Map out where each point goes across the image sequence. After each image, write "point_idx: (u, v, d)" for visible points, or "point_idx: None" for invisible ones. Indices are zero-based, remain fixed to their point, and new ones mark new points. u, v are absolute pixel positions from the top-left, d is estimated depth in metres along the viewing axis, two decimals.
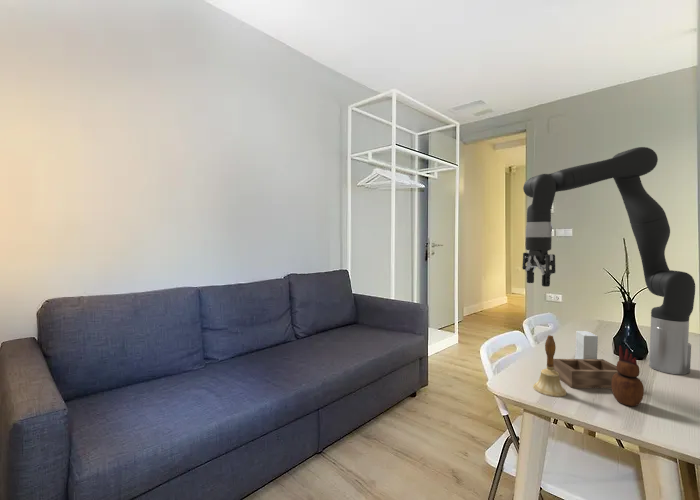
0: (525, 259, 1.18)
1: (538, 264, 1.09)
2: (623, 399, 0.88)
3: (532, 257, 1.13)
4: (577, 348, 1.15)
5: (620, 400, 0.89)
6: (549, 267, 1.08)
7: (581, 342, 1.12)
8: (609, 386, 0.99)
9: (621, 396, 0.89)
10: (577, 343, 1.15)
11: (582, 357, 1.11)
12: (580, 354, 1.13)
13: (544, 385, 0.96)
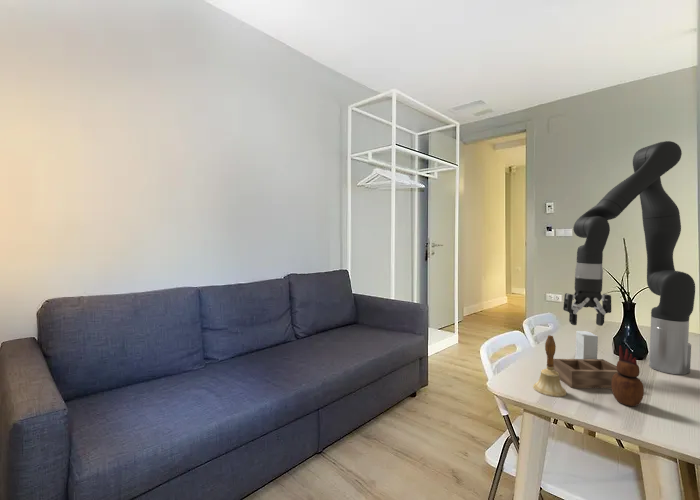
0: None
1: (599, 305, 1.11)
2: (623, 399, 0.88)
3: None
4: (577, 348, 1.15)
5: (620, 400, 0.89)
6: None
7: (581, 342, 1.12)
8: (609, 386, 0.99)
9: (621, 396, 0.89)
10: (577, 343, 1.15)
11: (582, 357, 1.11)
12: (580, 354, 1.13)
13: (544, 385, 0.96)
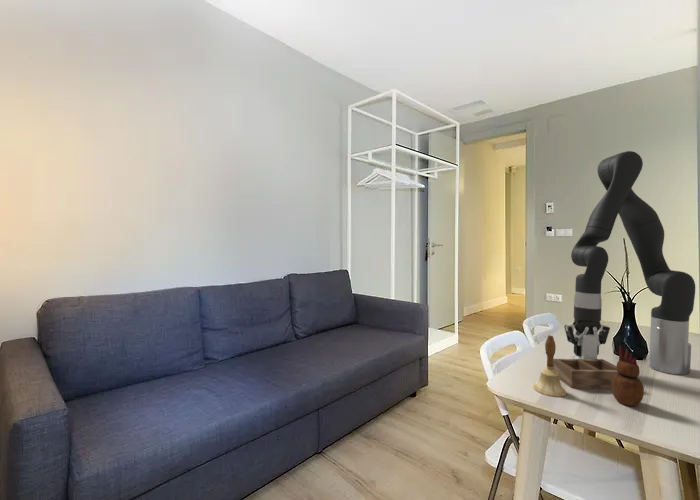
0: None
1: (596, 335, 1.11)
2: (623, 399, 0.88)
3: (587, 327, 1.11)
4: None
5: (620, 400, 0.89)
6: None
7: None
8: (609, 386, 0.99)
9: (621, 396, 0.89)
10: None
11: (582, 357, 1.11)
12: None
13: (544, 385, 0.96)
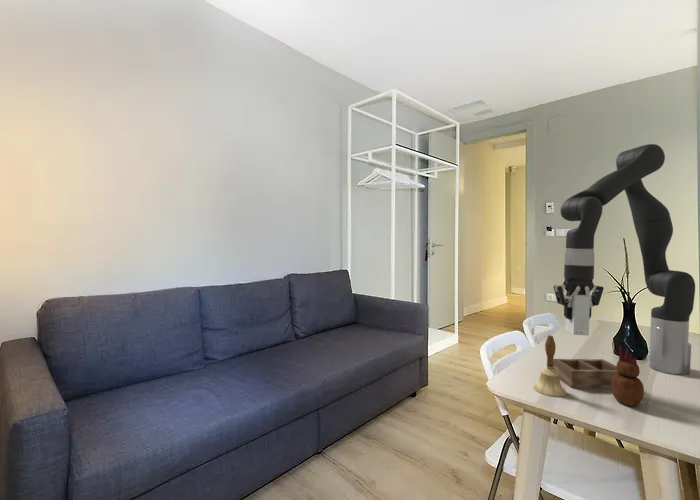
0: None
1: None
2: (623, 399, 0.88)
3: None
4: None
5: (620, 400, 0.89)
6: None
7: (572, 304, 1.02)
8: (609, 386, 0.99)
9: (621, 396, 0.89)
10: None
11: (573, 319, 1.01)
12: None
13: (544, 385, 0.96)
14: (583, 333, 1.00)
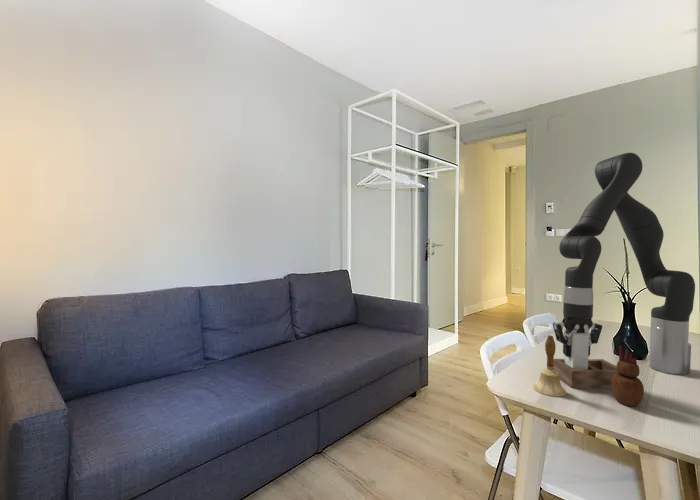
0: None
1: (588, 334, 1.02)
2: (623, 399, 0.88)
3: (577, 325, 1.02)
4: None
5: (620, 400, 0.89)
6: None
7: None
8: (609, 386, 0.99)
9: (621, 396, 0.89)
10: None
11: (572, 358, 1.02)
12: None
13: (544, 385, 0.96)
14: None
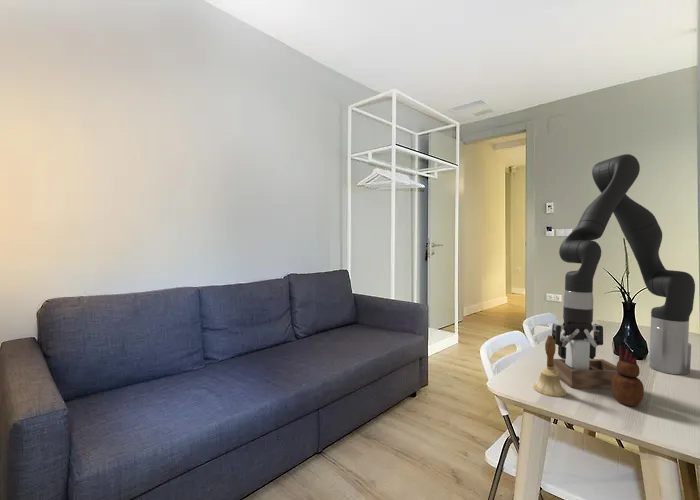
0: None
1: (590, 337, 1.01)
2: (623, 399, 0.88)
3: None
4: (567, 355, 1.05)
5: (620, 400, 0.89)
6: None
7: (572, 349, 1.03)
8: (609, 386, 0.99)
9: (621, 396, 0.89)
10: (567, 350, 1.05)
11: (573, 365, 1.02)
12: (571, 362, 1.03)
13: (544, 385, 0.96)
14: None
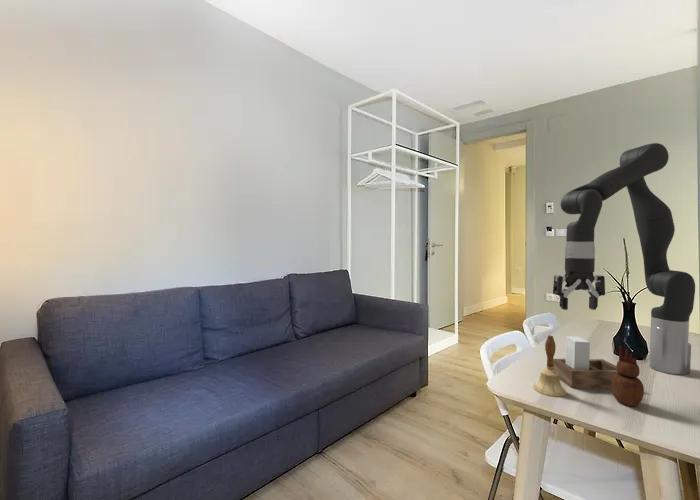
0: None
1: (592, 287, 1.01)
2: (623, 399, 0.88)
3: None
4: (567, 355, 1.05)
5: (620, 400, 0.89)
6: None
7: (572, 349, 1.03)
8: (609, 386, 0.99)
9: (621, 396, 0.89)
10: (567, 350, 1.05)
11: (573, 365, 1.02)
12: (571, 362, 1.03)
13: (544, 385, 0.96)
14: None
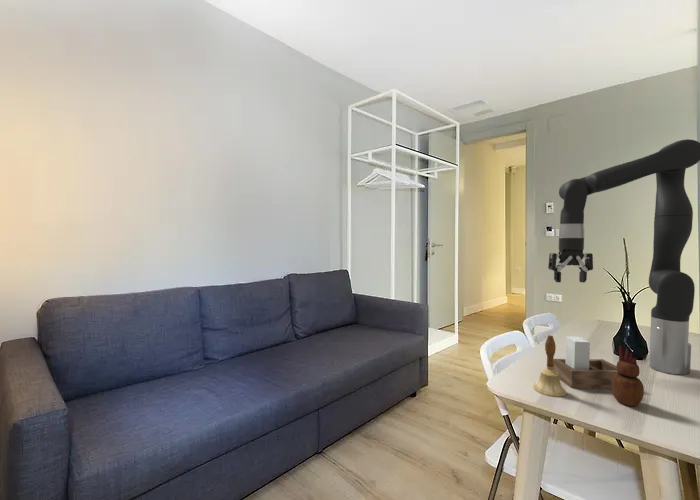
0: None
1: (582, 263, 1.18)
2: (623, 399, 0.88)
3: None
4: (567, 355, 1.05)
5: (620, 400, 0.89)
6: None
7: (572, 349, 1.03)
8: (609, 386, 0.99)
9: (621, 396, 0.89)
10: (567, 350, 1.05)
11: (573, 365, 1.02)
12: (571, 362, 1.03)
13: (544, 385, 0.96)
14: None
